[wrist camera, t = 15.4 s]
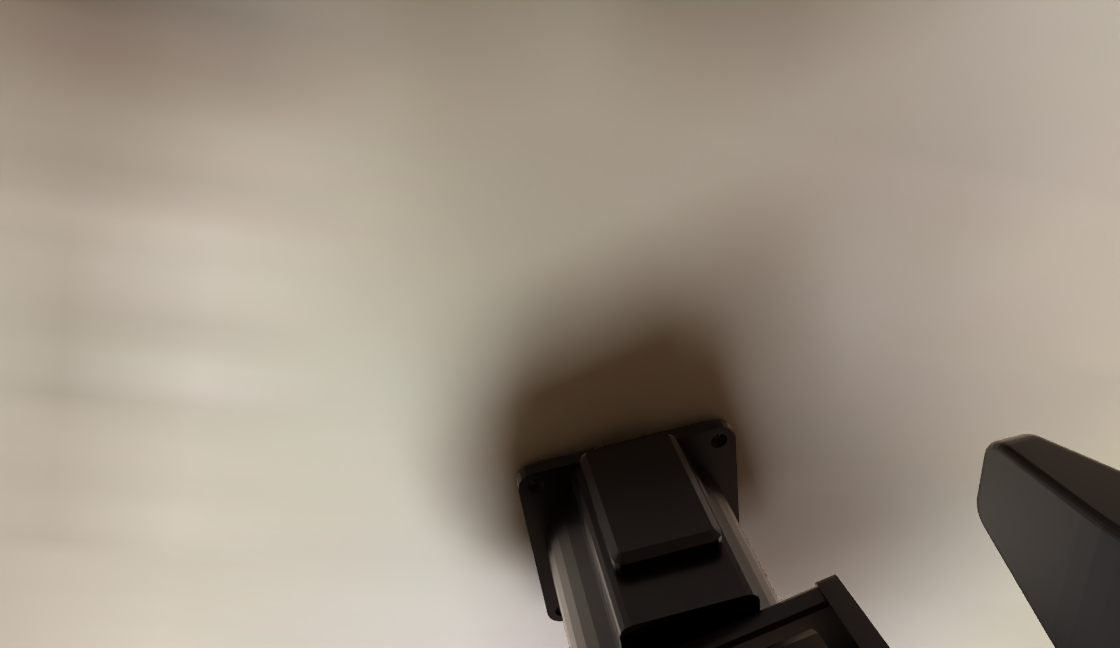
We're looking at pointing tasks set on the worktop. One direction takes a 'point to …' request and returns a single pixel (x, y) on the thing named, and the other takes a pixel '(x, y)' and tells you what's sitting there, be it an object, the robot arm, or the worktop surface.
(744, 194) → the worktop surface
